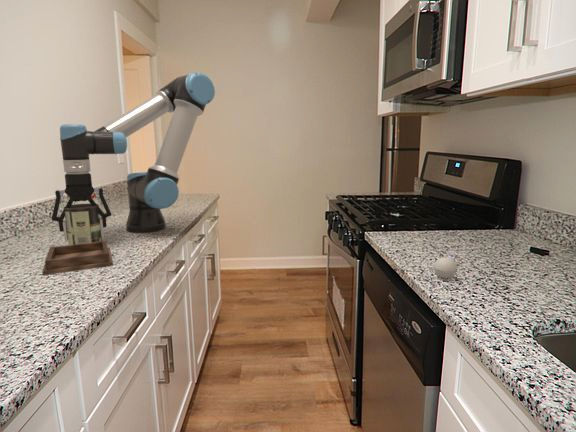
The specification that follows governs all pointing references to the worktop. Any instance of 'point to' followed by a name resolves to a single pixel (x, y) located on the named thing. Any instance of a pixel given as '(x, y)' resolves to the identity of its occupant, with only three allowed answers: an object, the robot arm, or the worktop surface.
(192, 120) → the robot arm
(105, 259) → the can holder
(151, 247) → the worktop surface
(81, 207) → the coffee can
